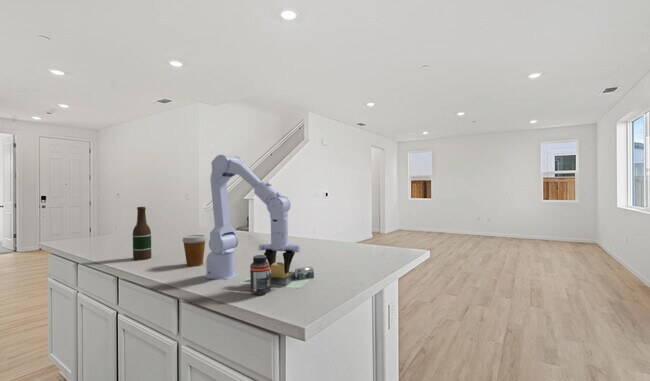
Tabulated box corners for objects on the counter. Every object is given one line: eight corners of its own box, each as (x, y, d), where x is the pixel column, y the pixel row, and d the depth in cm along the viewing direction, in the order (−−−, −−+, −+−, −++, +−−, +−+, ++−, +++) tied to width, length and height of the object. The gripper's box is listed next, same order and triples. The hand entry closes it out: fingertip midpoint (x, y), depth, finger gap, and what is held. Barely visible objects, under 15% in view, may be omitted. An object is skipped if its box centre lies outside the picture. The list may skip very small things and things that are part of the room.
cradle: (263, 285, 108) (263, 276, 108) (274, 278, 116) (274, 270, 116) (286, 287, 106) (286, 278, 106) (295, 280, 113) (295, 271, 113)
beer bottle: (155, 257, 152) (154, 206, 152) (138, 261, 146) (137, 207, 145) (146, 256, 156) (145, 206, 156) (129, 259, 150) (128, 207, 149)
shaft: (298, 281, 112) (298, 270, 112) (294, 278, 115) (294, 267, 115) (314, 278, 115) (314, 267, 115) (309, 276, 118) (309, 265, 118)
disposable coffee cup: (180, 264, 139) (179, 236, 139) (202, 260, 145) (202, 233, 145) (186, 268, 131) (185, 238, 131) (210, 264, 137) (209, 236, 137)
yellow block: (276, 275, 113) (276, 260, 113) (288, 276, 112) (288, 261, 112) (271, 279, 109) (270, 264, 109) (283, 280, 108) (283, 264, 108)
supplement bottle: (252, 289, 104) (251, 254, 103) (270, 289, 104) (270, 253, 104) (249, 296, 98) (248, 258, 97) (269, 295, 98) (268, 257, 98)
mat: (238, 284, 110) (238, 283, 110) (260, 271, 125) (260, 270, 125) (299, 289, 103) (299, 288, 103) (315, 275, 119) (315, 274, 119)
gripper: (254, 233, 109) (254, 273, 109) (294, 234, 104) (295, 276, 105) (264, 230, 115) (264, 268, 116) (302, 231, 111) (303, 271, 111)
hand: (279, 272), depth 111 cm, fingers closed on yellow block, 4 cm apart
